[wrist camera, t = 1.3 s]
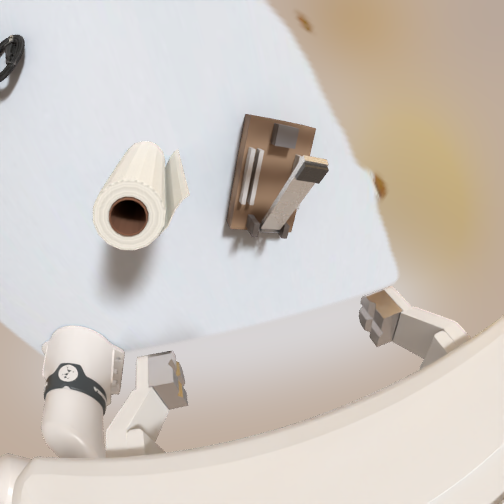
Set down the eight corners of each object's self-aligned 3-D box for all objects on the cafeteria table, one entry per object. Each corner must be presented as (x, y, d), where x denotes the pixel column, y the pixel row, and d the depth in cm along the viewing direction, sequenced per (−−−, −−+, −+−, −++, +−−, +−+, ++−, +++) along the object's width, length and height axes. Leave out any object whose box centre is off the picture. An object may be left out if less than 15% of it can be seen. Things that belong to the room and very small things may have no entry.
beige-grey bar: (276, 227, 46) (278, 236, 45) (257, 226, 45) (258, 235, 44) (326, 158, 32) (330, 168, 32) (303, 153, 31) (306, 164, 31)
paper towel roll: (119, 175, 40) (86, 243, 22) (130, 135, 37) (100, 171, 20) (165, 187, 43) (168, 262, 25) (178, 149, 40) (190, 195, 22)
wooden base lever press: (284, 224, 51) (299, 242, 46) (226, 220, 48) (235, 239, 42) (307, 126, 44) (327, 131, 38) (245, 114, 40) (258, 117, 35)
